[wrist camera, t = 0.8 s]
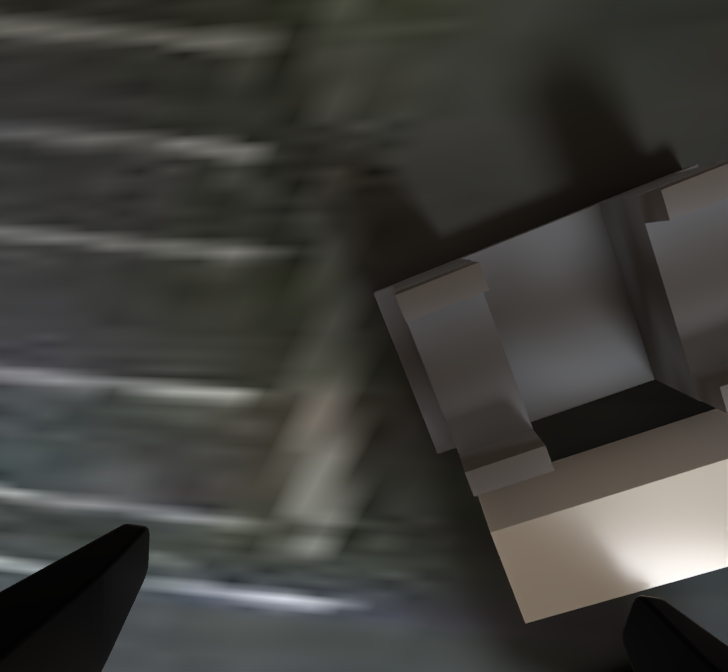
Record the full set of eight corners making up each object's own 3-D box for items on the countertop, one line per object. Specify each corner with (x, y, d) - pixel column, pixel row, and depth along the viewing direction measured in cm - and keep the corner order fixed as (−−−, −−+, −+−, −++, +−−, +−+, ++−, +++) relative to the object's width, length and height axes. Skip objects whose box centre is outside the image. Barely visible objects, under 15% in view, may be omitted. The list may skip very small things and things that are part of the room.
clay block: (746, 488, 22) (822, 539, 18) (503, 561, 24) (525, 623, 20) (721, 403, 21) (795, 437, 17) (474, 484, 23) (490, 532, 19)
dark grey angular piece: (732, 342, 21) (852, 374, 15) (435, 445, 22) (448, 506, 17) (682, 168, 19) (793, 135, 14) (374, 291, 21) (367, 304, 16)
